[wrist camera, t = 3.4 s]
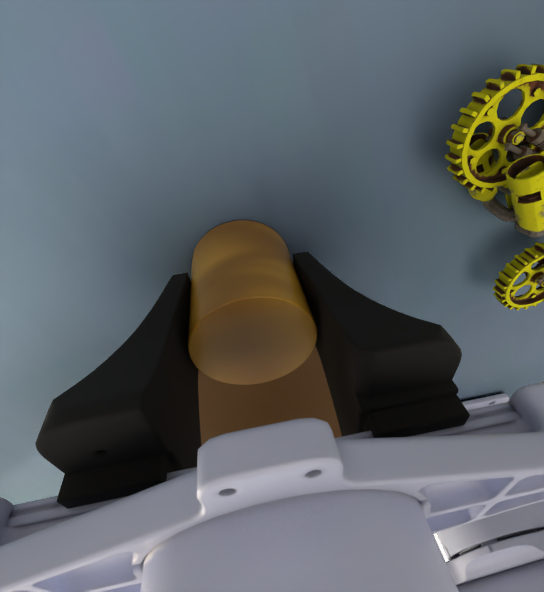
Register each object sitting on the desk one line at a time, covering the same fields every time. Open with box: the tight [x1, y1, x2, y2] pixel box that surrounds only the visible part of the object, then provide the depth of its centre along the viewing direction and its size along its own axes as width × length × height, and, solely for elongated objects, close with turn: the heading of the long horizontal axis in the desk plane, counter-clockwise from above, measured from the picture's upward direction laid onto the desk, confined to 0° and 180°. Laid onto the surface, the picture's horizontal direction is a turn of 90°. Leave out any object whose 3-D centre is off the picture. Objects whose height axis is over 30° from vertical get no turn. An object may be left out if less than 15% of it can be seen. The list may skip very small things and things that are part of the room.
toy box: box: [198, 346, 342, 446], centre depth 19 cm, size 13×11×7 cm
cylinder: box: [188, 220, 317, 385], centre depth 13 cm, size 4×4×5 cm
